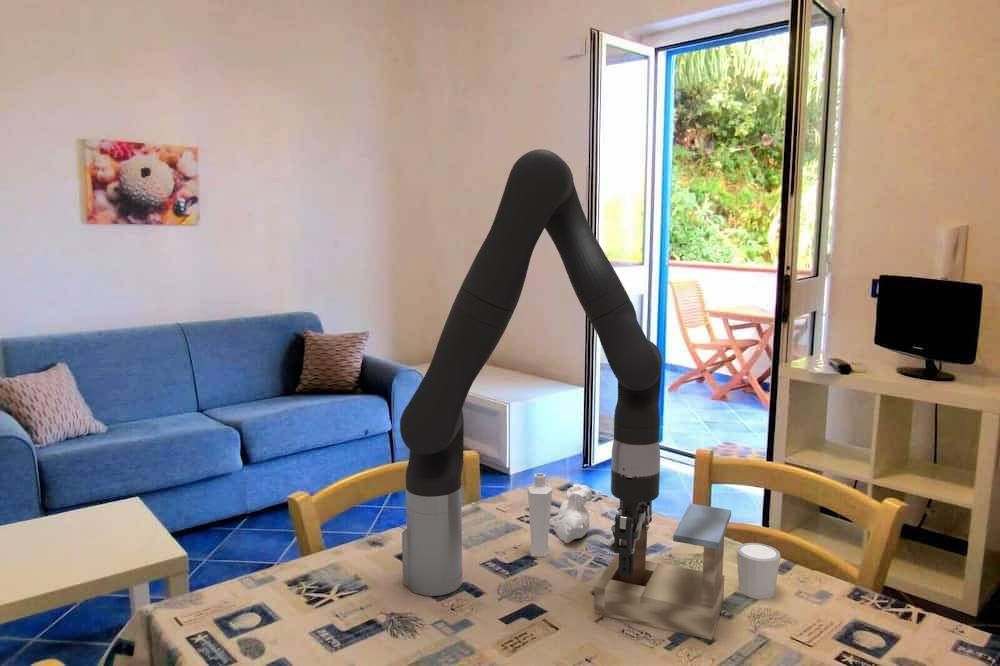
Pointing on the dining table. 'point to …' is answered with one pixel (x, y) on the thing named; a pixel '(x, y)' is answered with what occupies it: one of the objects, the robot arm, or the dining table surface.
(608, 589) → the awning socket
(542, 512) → the perfume bottle
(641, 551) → the peg
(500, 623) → the dining table surface
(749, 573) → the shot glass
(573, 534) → the bust
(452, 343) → the robot arm
